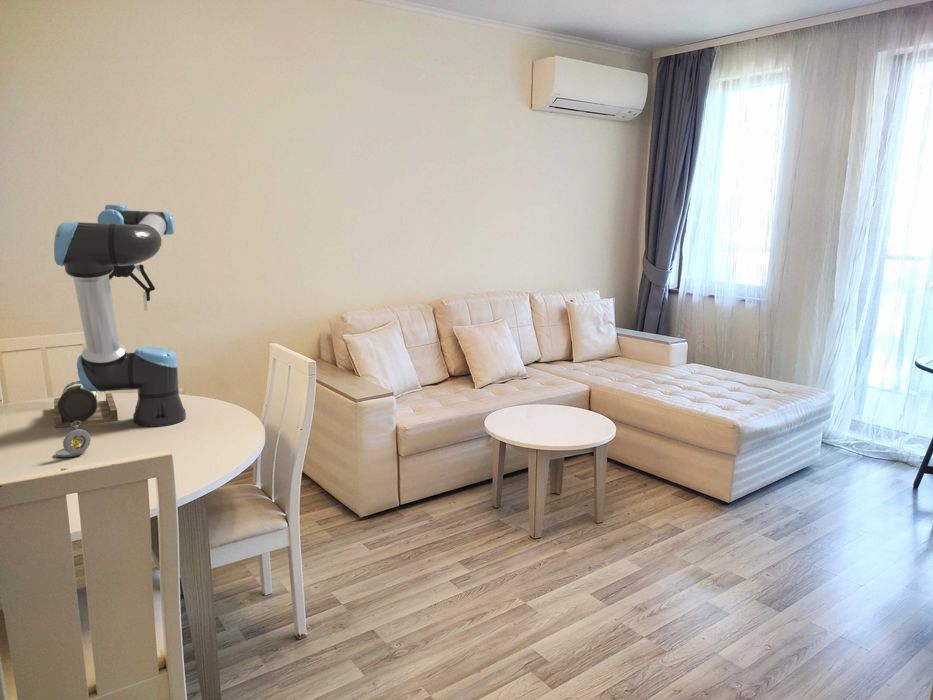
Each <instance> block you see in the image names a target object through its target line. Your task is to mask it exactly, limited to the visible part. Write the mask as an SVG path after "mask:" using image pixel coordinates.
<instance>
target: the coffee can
mask: <svg viewBox="0 0 933 700" xmlns="http://www.w3.org/2000/svg"><path fill="white" fill-rule="evenodd" d="M99 396H100V395H99V391H88V390H86V389H85V388H84V387H83V386H82V384H81V382H80V379H77V380H74V381H71V382H70V383H68V384H66V386H64V388H63V390H62V392H61V396H60V397H59V398H60V399H59V401H58V411H59V413H60V414H61V415H62V416H63V417H64V418H65V419H67V420H70V421H84V420H86V419H88V418H90V417H91V416H92V415H93V414H94V413H95V411H96V409H97V402H98V400H99Z"/></svg>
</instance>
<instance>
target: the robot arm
mask: <svg viewBox="0 0 933 700" xmlns="http://www.w3.org/2000/svg"><path fill="white" fill-rule="evenodd" d="M174 216H175V215H174V214H173V213H171V212H166V211H144V210H142V211H141V210H131V209H130V206H128V205H123V204H106V205H105V206H104V210H102V211H101V212H100V213H99V214H98V215H97V219H96V220H97V222H80V221H75V222H74V221H73V222H71V221H70V222H69V221H67V222H62V223H60V224H59V225H58V226H57V229H56V230H55V231H56V232H55V233H54V234H55V236H54V242H53V255H54V256H53V257H54V262H55V264H56V265H57V266H60V267H64V270H65V273H66V274H67V275H68V276H69V277H72V278H73V282H74V283H73V285H74V288H75V294H76V299H77V304H78V309H79V315H80V319H81V320H80V321H81V324H82V325H81V326H82V331H83V336H84V340H85V346H86V347H85V348H83V349H82V351H81V354H80V355H79V356H78V357H77V360H76V369H77V374H78V375H77V376H78V378H79V379H78V380H80V382H81V384H82V386H83V387H84V388H85V389H86V390H88V391H98V393H99V392H103V393H104V392H113V391H115V392H116V391H128V390H129V391H132V390H133V391H134V390H137V398H138V399H137V402H136V404H135V410H134V413H133V415H132V417H133V419H132V420H133V424H134V425H137V426H141V427H162V426H170V425H174V424H178V423H181V422H184V420H186V419H187V418H186V417H187V413H186V412H187V411H186V409H185V408H184V406H183V403H182V400H181V398H180V394H179V393H180V391H179V377H178V374H179V373H178V367H179V364H178V360H177V354H176V352H174V351H173V350H170V349H169V348H163V347H154V346H146V347H145V346H144V347H143V346H140V347H137V348H135V350H134V352H127V349H126V346H125V345H124V344H122V343H121V342H120V341H119V333H118V326H117V321H116V313H115V308H114V301H113V296H112V294H113V293H112V289H111V282H110V281H111V280H112V279H113V278H114V277H115V278H121V277H122V278H128V277H130V278H131V279H133V281H135V282H136V283H137V285H138V286H140V287H141V288H142V290H144V291H143V292H142V297H143V298H142V299H143V301H142V302H143V310H144V311H148V302H150V300H151V295H150V294H151V293H150V292H152V291H155V290H156V288H155V286H154V284H153V283H152V281H151V279H150V277H149V275H147V273H146V271H145V267H144V265H143V264H141V263H143V262H145V261H147V260H149V259H152V258H153V257H154V256H155V255H156V254H158V252H160V251H159V250H161V249H160V248H161V247H162V238H163V236H169V235H174V234H175V217H174ZM139 263H140V264H139ZM135 269H136V270H137V271H138V272H140V274H141V275H142V277H143V279H144V280H145V282H146V283H147V285H148V287H147V286H146V285H145V283H143V282H142V281H141V280H140V278H138V277H137V276H136V275H135V273H133V272H134V270H135Z"/></svg>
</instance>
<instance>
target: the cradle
mask: <svg viewBox="0 0 933 700" xmlns="http://www.w3.org/2000/svg"><path fill="white" fill-rule="evenodd" d="M53 399H54V400H53V418H54V428H55V429H57V428H66V427H72V426H74V424H77V425H79V424H80V422H81V424H80V425H79V426H82V425H90V424H98V423H99V424H101V423H108V422H109V423H110V422H117V421H119V419H118V418H119V416H118V409H117V406H116V403H115V399H114V397H113V394H112V393H111V392H110V393H109V392H108V393H105V400H99V401H97V409H96V411H95V413H94V414H93V415H92V416H91V417H90V418H88V419H86V420H84V421H80V422H75V421H70V420H67V419H65V418H64V417H63V416H62V415H61V414H60V413H59V411H58V401H59V399H60V397H58V398H53ZM73 422H74V423H73ZM71 423H73V424H72V426H71Z"/></svg>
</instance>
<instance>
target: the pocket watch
mask: <svg viewBox="0 0 933 700" xmlns="http://www.w3.org/2000/svg"><path fill="white" fill-rule="evenodd" d="M75 422H80V421H75ZM73 423H74V422H73ZM73 423H71V426H70V427H72V428H74V429H73V430H71V431H69V432H68V433H67V434H66V435H65V437H64V438H63V441H62V445H63V448H61V449H58V450H56V452H55V456H56V457H58V458H72V457H78V456H81V455H82V454H84V453H85V452H86V450H87V449H88V448H89V446H90V445H91V440H92V439H91V436H90V433H88V431H86V430H85V429H82V428H78V427H79V426H81V425H80V424H81V422H80V424H79V425H77V424H74V426H72V424H73Z"/></svg>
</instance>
